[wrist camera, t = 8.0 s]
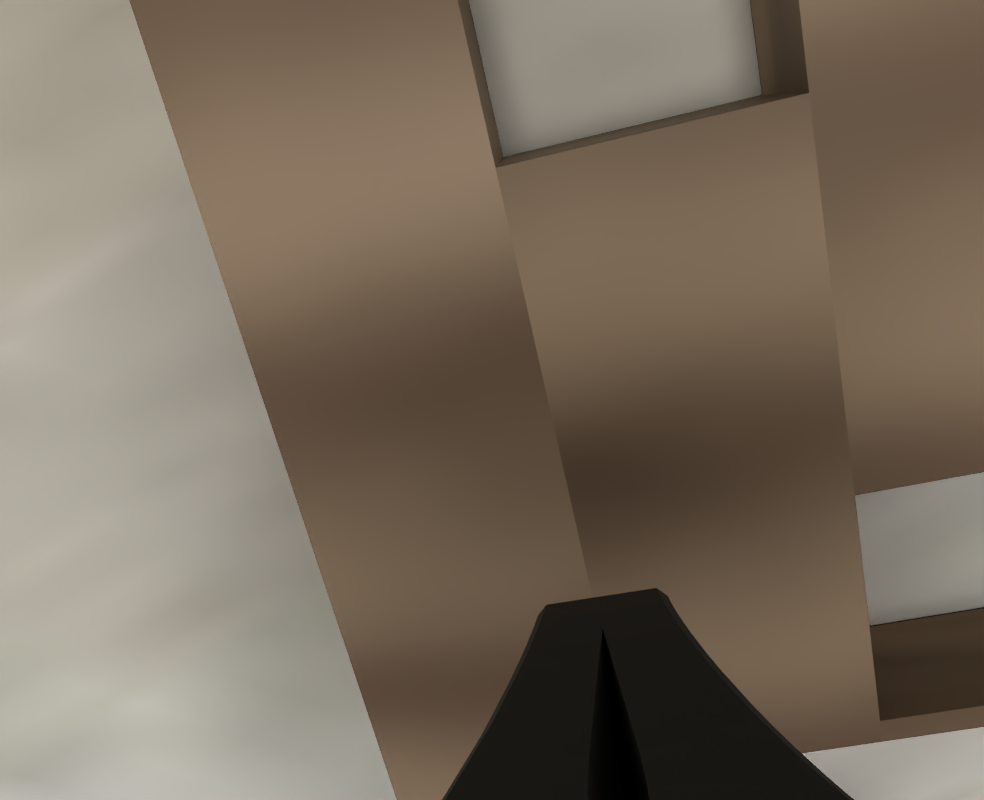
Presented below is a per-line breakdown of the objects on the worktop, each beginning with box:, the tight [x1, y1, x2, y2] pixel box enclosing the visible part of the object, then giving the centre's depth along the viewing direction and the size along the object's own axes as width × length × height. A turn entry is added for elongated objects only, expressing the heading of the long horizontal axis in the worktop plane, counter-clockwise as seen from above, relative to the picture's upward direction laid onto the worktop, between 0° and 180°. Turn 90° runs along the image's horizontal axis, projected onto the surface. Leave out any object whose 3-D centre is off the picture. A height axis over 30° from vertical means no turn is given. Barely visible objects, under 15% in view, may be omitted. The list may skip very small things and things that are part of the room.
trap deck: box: [130, 0, 984, 800], centre depth 15 cm, size 18×22×6 cm
